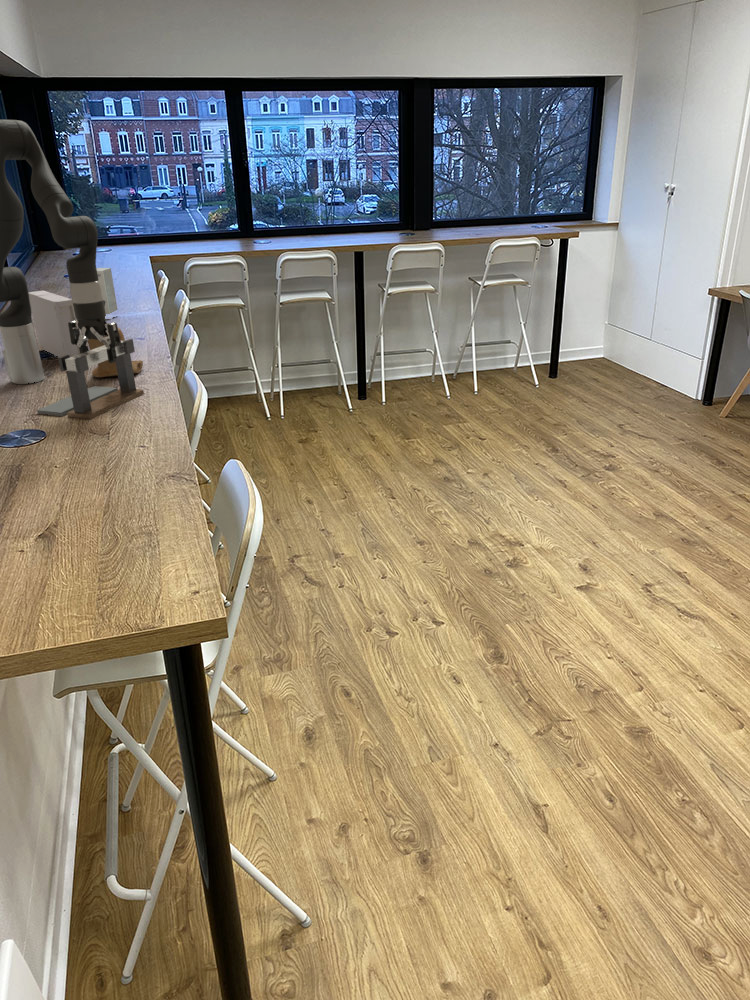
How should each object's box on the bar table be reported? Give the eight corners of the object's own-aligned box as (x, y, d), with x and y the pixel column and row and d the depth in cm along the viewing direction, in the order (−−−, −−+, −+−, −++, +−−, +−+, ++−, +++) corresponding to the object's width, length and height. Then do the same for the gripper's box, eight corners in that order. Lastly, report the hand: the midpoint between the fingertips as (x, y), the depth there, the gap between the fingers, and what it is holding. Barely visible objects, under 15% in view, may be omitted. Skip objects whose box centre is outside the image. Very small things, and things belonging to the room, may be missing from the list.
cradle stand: (68, 416, 196) (55, 357, 189) (123, 391, 215) (113, 337, 209) (89, 419, 194) (77, 359, 187) (143, 393, 213) (134, 338, 206)
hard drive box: (76, 319, 314) (67, 270, 306) (86, 315, 321) (76, 267, 313) (111, 319, 312) (102, 270, 303) (119, 315, 319) (111, 267, 310)
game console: (68, 363, 247) (55, 302, 239) (39, 349, 266) (26, 292, 258) (85, 360, 251) (73, 299, 242) (55, 347, 270) (43, 290, 261)
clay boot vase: (91, 383, 225) (81, 333, 219) (94, 372, 236) (85, 325, 229) (143, 378, 228) (135, 328, 222) (144, 368, 239) (136, 321, 232)
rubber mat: (37, 413, 199) (37, 410, 199) (95, 389, 219) (94, 385, 218) (61, 416, 197) (61, 412, 196) (117, 391, 216) (117, 387, 216)
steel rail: (67, 370, 191) (64, 359, 190) (119, 351, 209) (117, 340, 207) (76, 371, 190) (74, 360, 189) (128, 351, 208) (126, 341, 206)
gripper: (119, 297, 193) (130, 359, 200) (75, 296, 198) (87, 356, 205) (100, 303, 187) (112, 366, 194) (55, 301, 192) (68, 363, 199)
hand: (99, 361), depth 199 cm, fingers open, 8 cm apart
